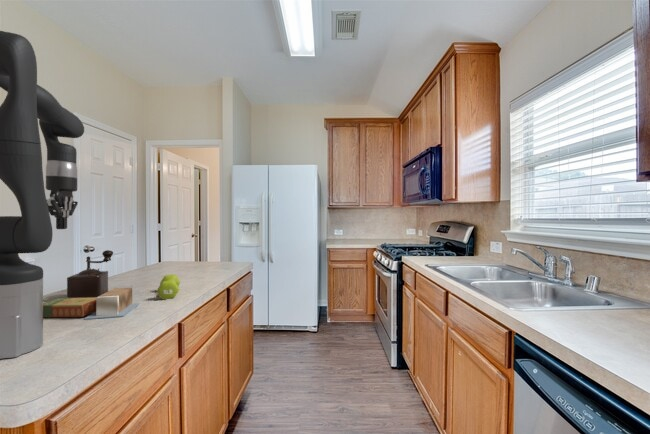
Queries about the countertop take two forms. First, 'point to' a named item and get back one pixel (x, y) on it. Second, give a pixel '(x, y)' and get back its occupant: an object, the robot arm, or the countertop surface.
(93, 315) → the mat
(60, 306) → the carton
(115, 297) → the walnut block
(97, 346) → the countertop surface
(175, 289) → the dumbbell
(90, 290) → the manual coffee grinder
